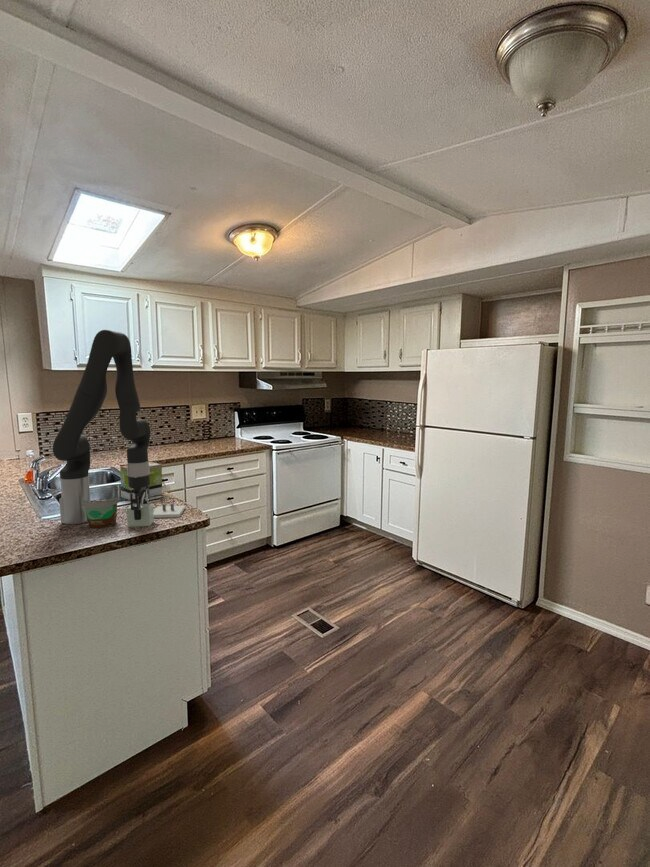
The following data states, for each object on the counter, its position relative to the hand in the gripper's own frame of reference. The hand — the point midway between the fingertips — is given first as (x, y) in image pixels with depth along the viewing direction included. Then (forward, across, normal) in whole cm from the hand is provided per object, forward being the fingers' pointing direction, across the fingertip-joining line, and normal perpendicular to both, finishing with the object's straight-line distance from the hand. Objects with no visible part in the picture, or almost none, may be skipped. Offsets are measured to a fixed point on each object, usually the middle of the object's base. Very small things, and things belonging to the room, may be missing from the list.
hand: (141, 515), depth 154 cm
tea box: (+3, -38, -11) cm, 40 cm away
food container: (+3, +1, -14) cm, 15 cm away
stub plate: (+3, -12, +7) cm, 14 cm away
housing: (+3, 0, 0) cm, 3 cm away
